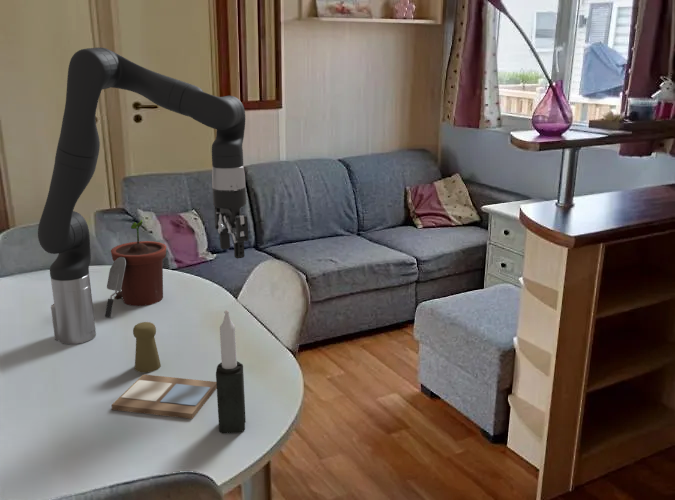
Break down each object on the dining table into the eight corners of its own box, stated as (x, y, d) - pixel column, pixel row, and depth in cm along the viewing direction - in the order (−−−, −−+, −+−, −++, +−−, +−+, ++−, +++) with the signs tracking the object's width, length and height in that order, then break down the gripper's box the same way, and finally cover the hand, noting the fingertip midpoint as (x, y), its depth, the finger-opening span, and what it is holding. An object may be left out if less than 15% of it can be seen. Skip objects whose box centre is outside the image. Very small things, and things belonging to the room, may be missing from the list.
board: (112, 409, 143) (111, 403, 143) (143, 379, 156) (143, 373, 156) (192, 419, 140) (192, 412, 139) (217, 386, 153) (217, 381, 152)
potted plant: (179, 303, 202) (174, 221, 195) (105, 319, 191) (96, 232, 183) (159, 286, 216) (153, 209, 209) (89, 300, 205) (80, 219, 198)
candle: (220, 420, 139) (214, 305, 132) (245, 419, 139) (240, 305, 132) (218, 433, 134) (211, 315, 127) (244, 432, 135) (239, 314, 127)
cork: (153, 373, 159) (150, 330, 156) (129, 371, 160) (125, 328, 157) (165, 362, 164) (161, 320, 161) (142, 360, 166) (138, 318, 162)
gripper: (202, 182, 160) (206, 248, 165) (225, 192, 148) (229, 263, 153) (232, 178, 164) (235, 243, 169) (257, 189, 152) (259, 258, 157)
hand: (232, 253), depth 161 cm, fingers open, 8 cm apart
